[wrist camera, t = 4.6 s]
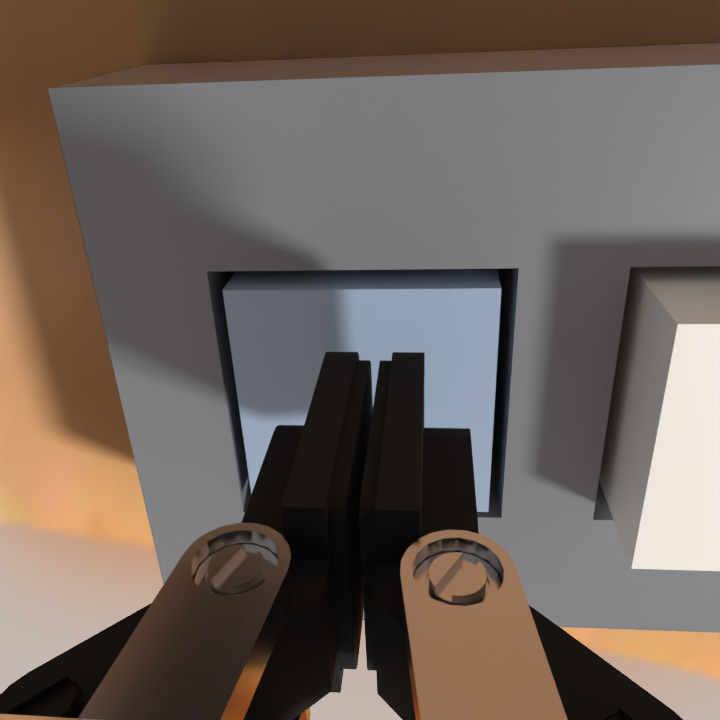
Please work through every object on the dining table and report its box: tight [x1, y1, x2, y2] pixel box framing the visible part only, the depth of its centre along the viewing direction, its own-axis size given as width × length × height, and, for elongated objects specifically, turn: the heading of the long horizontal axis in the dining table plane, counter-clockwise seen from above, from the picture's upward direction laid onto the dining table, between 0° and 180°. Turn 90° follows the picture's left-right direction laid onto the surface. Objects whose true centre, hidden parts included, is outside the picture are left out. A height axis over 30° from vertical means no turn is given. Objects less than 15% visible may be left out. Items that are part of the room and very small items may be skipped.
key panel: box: [48, 43, 720, 633], centre depth 15 cm, size 12×25×4 cm, turn 92°
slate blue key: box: [222, 269, 501, 512], centre depth 15 cm, size 5×5×3 cm
